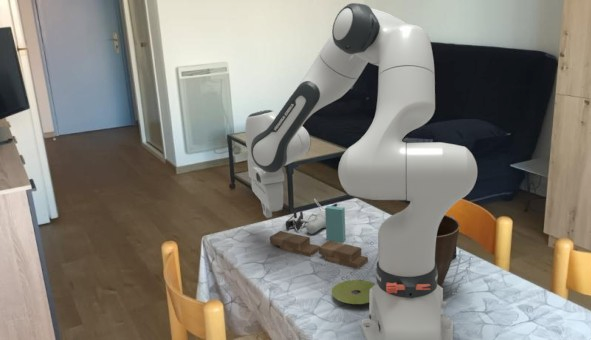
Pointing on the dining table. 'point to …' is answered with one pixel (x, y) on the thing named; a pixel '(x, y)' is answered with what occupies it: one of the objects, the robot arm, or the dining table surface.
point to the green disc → (353, 291)
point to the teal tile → (335, 223)
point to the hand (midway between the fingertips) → (267, 216)
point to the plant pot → (445, 246)
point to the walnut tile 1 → (290, 240)
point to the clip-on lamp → (308, 221)
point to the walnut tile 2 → (304, 250)
